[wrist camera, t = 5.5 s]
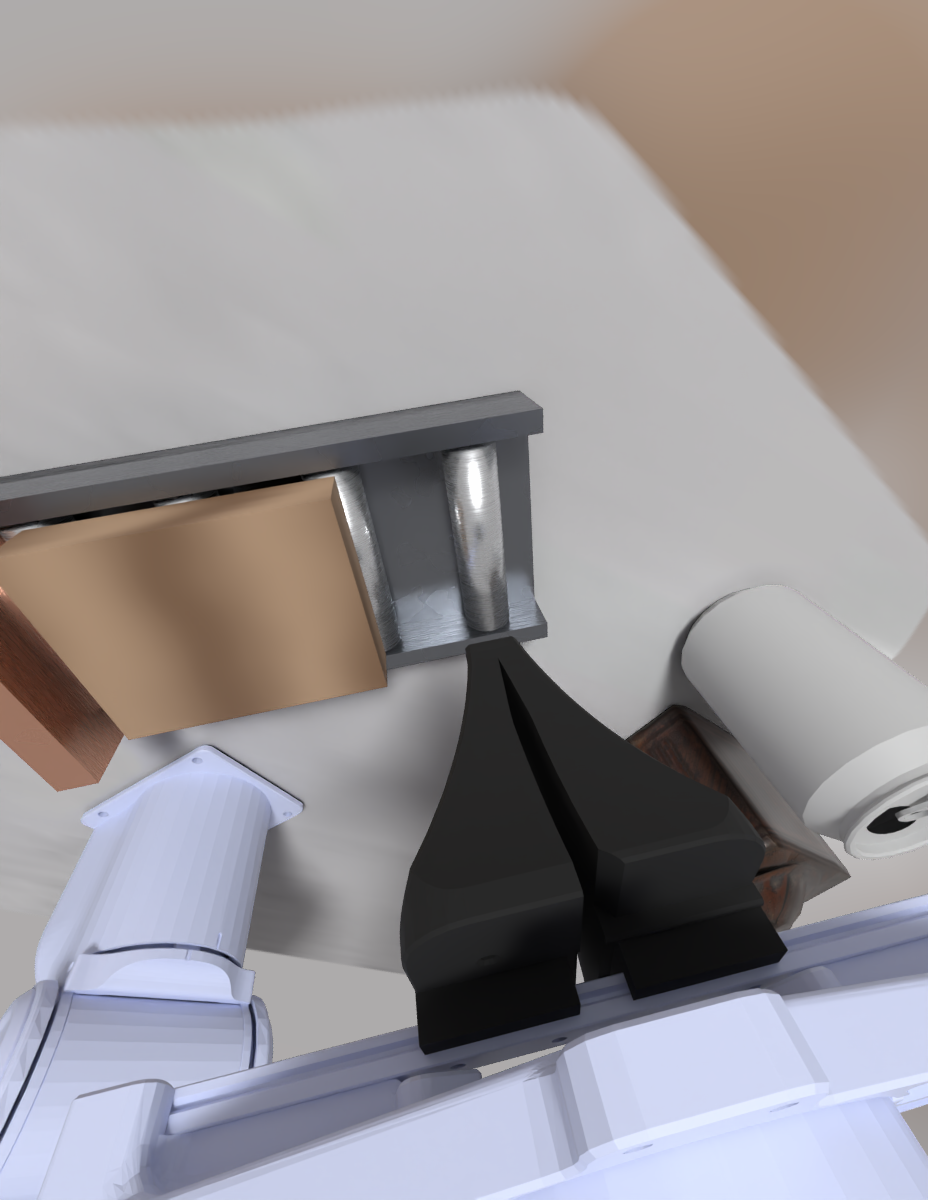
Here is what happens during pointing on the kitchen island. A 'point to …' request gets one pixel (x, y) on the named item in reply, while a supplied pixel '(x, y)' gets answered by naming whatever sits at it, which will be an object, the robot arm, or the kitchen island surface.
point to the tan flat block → (203, 606)
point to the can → (818, 716)
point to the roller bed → (386, 492)
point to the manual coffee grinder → (747, 809)
